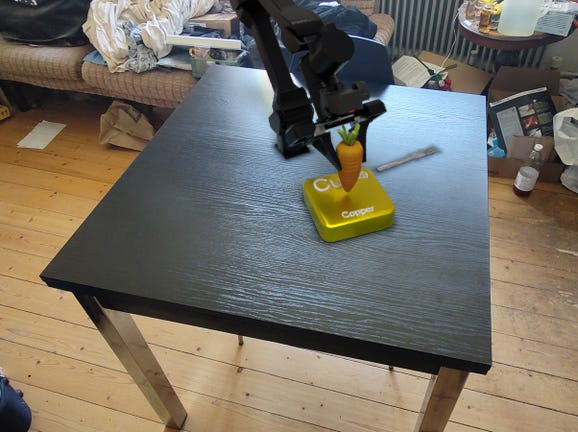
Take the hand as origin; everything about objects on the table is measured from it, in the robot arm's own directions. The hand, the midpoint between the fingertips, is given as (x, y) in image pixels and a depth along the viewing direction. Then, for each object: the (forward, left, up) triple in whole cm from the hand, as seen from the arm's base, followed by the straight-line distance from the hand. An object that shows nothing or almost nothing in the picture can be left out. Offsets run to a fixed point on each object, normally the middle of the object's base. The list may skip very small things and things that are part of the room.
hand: (352, 166), depth 80 cm
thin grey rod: (+21, +9, -12) cm, 26 cm away
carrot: (0, +1, -7) cm, 7 cm away
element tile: (0, +1, -12) cm, 12 cm away
